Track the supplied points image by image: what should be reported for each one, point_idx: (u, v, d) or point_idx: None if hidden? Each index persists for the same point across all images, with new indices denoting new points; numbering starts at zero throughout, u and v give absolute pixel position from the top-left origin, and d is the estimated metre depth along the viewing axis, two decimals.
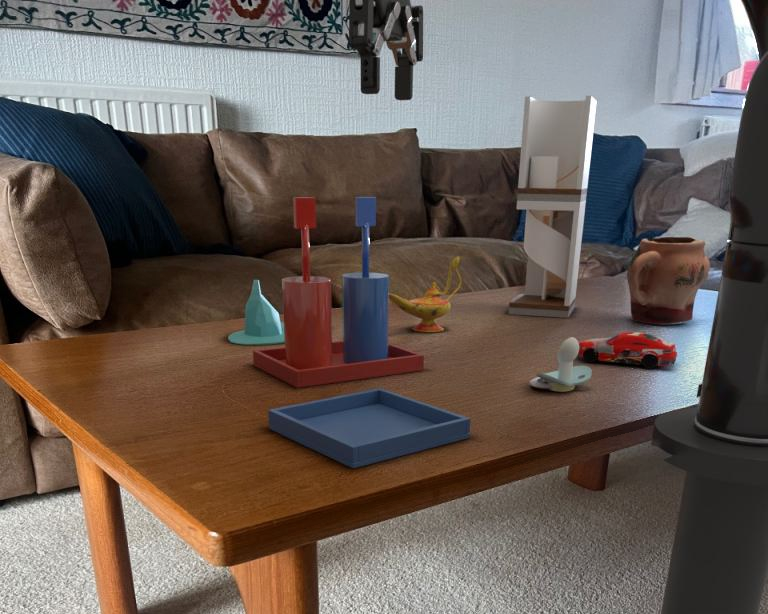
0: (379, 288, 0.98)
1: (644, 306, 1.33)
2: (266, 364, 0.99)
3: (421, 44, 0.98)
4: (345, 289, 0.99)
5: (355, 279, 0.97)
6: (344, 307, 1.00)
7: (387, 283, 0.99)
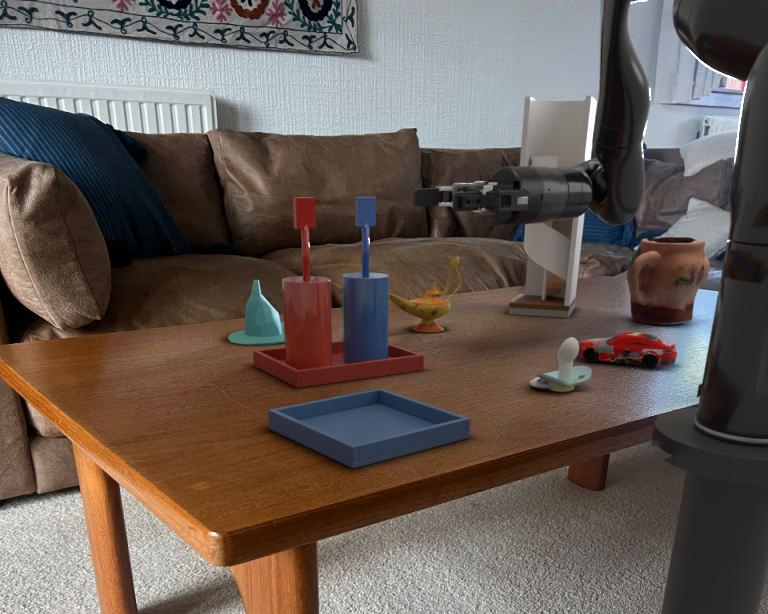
0: (379, 288, 0.98)
1: (644, 306, 1.33)
2: (266, 364, 0.99)
3: (505, 191, 0.99)
4: (345, 289, 0.99)
5: (355, 279, 0.97)
6: (344, 307, 1.00)
7: (387, 283, 0.99)
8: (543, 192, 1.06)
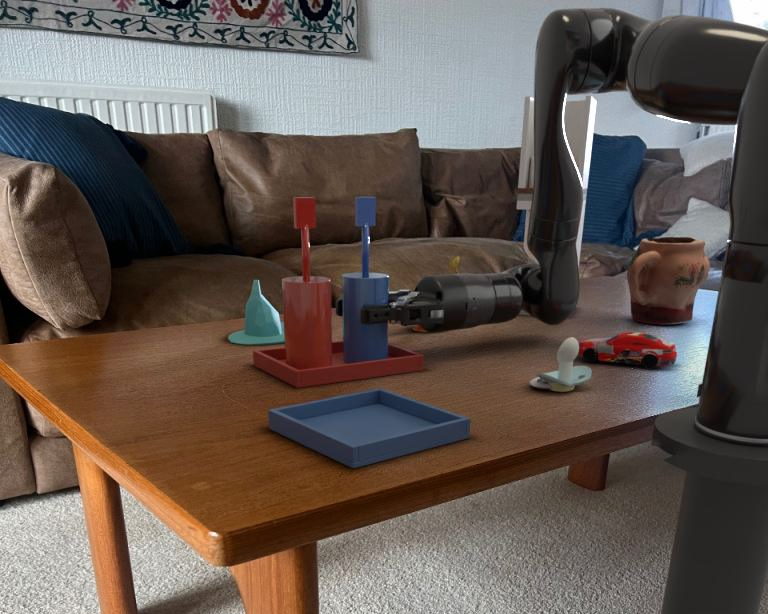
0: (379, 288, 0.98)
1: (644, 306, 1.33)
2: (266, 364, 0.99)
3: (414, 305, 0.98)
4: (344, 289, 0.99)
5: (355, 279, 0.97)
6: (344, 307, 1.00)
7: (387, 283, 0.99)
8: (468, 301, 1.05)
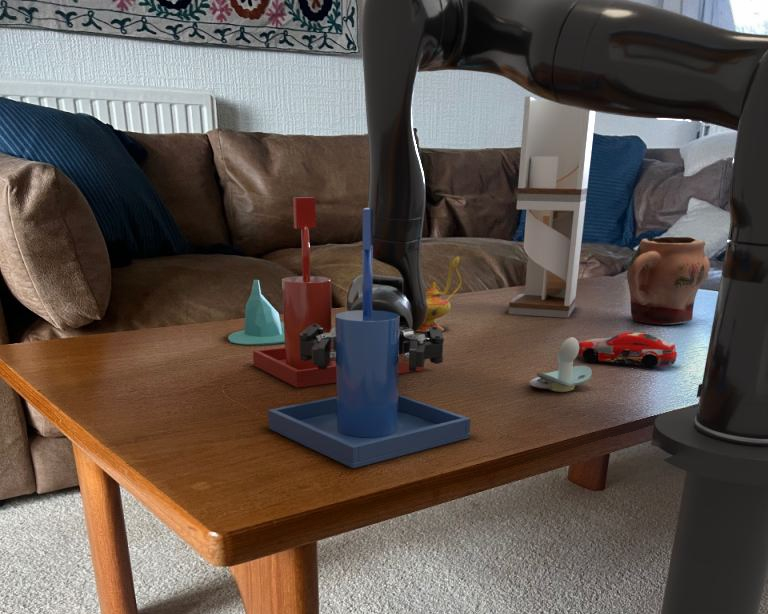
0: None
1: (644, 306, 1.33)
2: (266, 364, 0.99)
3: (438, 335, 0.77)
4: (364, 338, 0.71)
5: (383, 322, 0.70)
6: (361, 363, 0.72)
7: None
8: (411, 323, 0.86)
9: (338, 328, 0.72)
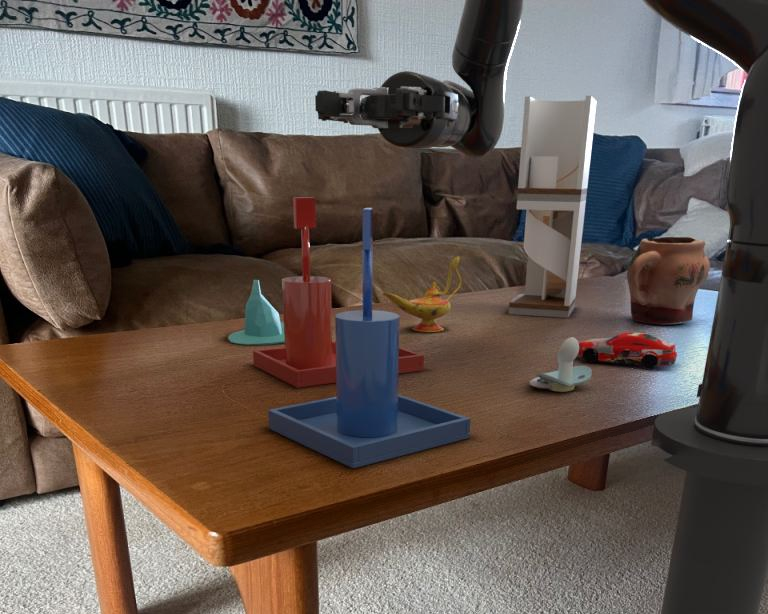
0: None
1: (644, 306, 1.33)
2: (266, 364, 0.99)
3: None
4: (364, 338, 0.71)
5: (383, 322, 0.70)
6: (361, 363, 0.72)
7: None
8: None
9: (338, 328, 0.72)
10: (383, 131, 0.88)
